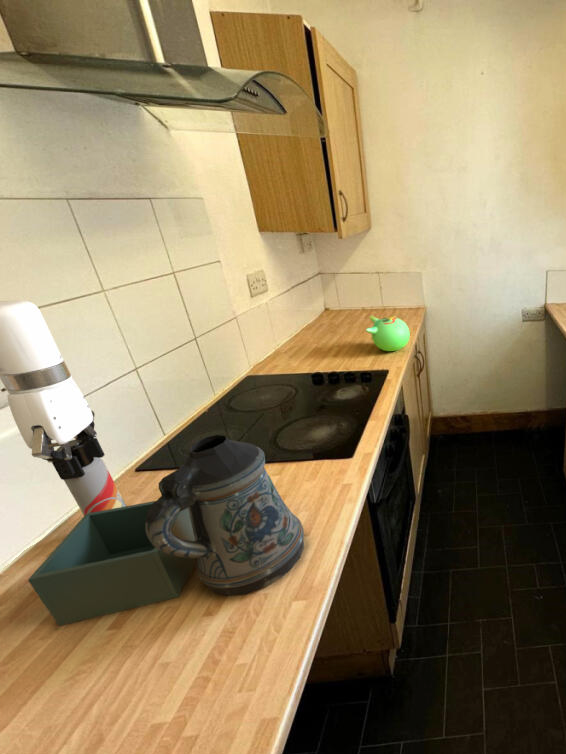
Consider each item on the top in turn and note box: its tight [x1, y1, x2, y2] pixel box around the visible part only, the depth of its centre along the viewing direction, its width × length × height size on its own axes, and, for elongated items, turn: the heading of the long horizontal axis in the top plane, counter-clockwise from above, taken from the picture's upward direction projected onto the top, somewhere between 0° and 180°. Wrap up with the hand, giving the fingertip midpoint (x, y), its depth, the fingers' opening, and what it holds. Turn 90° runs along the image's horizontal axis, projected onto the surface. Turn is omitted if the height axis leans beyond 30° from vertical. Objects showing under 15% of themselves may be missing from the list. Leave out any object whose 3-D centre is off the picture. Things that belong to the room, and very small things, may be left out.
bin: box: [27, 500, 197, 627], centre depth 70 cm, size 16×15×10 cm
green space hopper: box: [365, 315, 411, 352], centre depth 177 cm, size 18×17×15 cm
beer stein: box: [145, 434, 305, 597], centre depth 68 cm, size 16×19×25 cm
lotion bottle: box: [56, 439, 127, 517], centre depth 78 cm, size 6×6×20 cm
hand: (84, 466), depth 76 cm, fingers closed on lotion bottle, 5 cm apart
